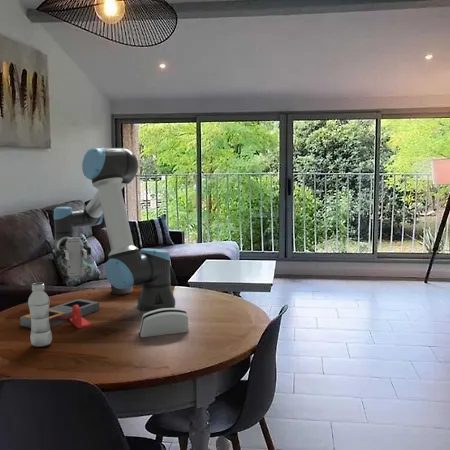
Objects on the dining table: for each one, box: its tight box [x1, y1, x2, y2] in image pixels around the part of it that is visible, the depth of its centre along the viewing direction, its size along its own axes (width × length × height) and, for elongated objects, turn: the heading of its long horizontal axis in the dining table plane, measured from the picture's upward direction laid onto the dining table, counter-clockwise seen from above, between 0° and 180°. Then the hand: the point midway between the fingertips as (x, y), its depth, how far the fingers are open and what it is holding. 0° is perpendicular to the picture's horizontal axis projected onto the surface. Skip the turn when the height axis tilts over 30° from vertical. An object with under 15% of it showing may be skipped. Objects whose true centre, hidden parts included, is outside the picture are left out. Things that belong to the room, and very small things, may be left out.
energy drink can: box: [66, 236, 85, 279], centre depth 199 cm, size 6×6×15 cm
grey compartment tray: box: [19, 298, 100, 329], centre depth 194 cm, size 11×28×3 cm, turn 150°
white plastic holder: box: [138, 307, 190, 338], centre depth 176 cm, size 17×5×10 cm, turn 110°
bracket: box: [68, 305, 92, 329], centre depth 188 cm, size 12×4×8 cm, turn 34°
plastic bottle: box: [27, 282, 53, 348], centre depth 164 cm, size 6×7×20 cm
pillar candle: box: [110, 284, 134, 295], centre depth 231 cm, size 10×10×15 cm
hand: (77, 255), depth 194 cm, fingers closed on energy drink can, 6 cm apart
